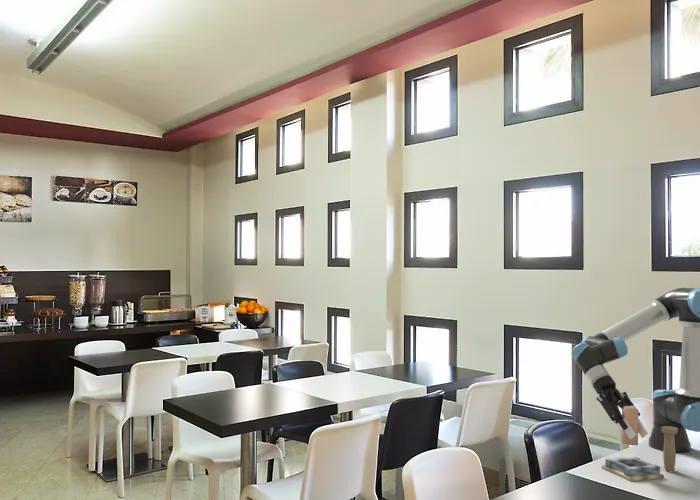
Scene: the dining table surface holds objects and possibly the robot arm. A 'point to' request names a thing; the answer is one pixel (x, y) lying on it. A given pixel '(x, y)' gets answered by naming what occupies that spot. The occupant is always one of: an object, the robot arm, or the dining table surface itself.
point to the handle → (669, 447)
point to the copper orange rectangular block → (632, 418)
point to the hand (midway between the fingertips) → (639, 436)
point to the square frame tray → (632, 469)
